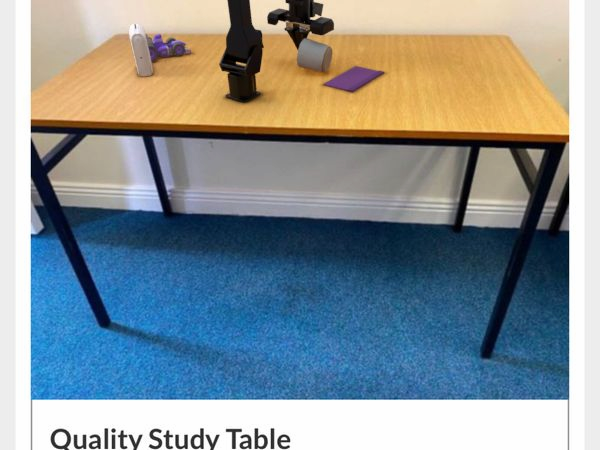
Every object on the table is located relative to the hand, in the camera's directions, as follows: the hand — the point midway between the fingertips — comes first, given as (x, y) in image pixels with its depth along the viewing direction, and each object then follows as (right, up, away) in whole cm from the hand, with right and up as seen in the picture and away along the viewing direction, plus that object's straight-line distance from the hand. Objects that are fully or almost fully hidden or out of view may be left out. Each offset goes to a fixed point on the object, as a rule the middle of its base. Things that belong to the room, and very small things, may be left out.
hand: (300, 53), depth 133 cm
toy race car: (-42, +4, +12) cm, 44 cm away
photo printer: (-44, -5, +2) cm, 45 cm away
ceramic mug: (+4, -5, -1) cm, 6 cm away
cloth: (+14, -10, -8) cm, 19 cm away
